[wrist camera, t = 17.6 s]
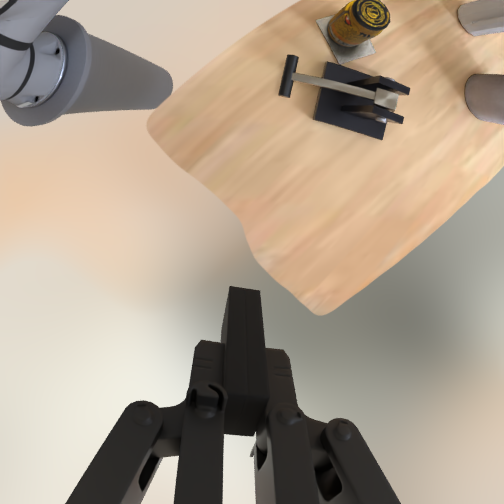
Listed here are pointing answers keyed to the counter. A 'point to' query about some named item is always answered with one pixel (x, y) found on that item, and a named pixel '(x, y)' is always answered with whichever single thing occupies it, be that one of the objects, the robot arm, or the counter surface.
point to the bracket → (356, 102)
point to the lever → (333, 86)
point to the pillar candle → (486, 97)
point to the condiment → (354, 28)
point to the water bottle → (482, 17)
